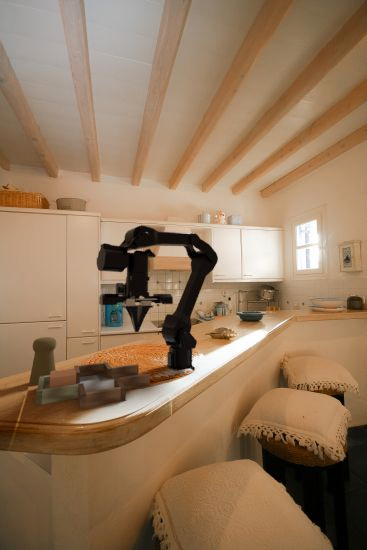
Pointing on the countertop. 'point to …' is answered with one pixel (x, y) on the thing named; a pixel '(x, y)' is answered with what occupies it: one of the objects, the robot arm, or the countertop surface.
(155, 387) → the countertop surface
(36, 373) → the olive green pepper mill
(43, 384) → the trap lane
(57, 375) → the block
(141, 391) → the countertop surface
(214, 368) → the countertop surface
